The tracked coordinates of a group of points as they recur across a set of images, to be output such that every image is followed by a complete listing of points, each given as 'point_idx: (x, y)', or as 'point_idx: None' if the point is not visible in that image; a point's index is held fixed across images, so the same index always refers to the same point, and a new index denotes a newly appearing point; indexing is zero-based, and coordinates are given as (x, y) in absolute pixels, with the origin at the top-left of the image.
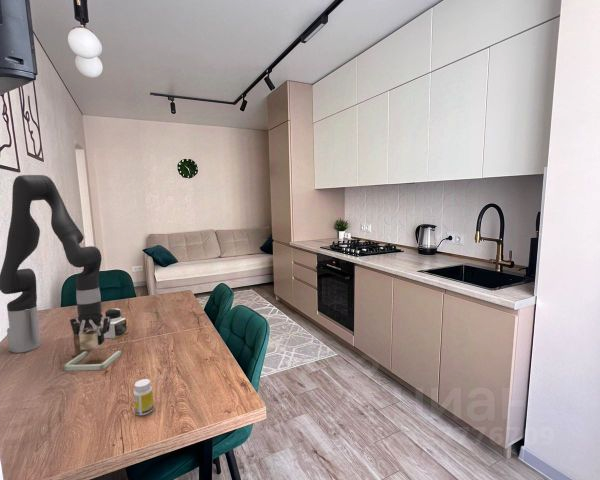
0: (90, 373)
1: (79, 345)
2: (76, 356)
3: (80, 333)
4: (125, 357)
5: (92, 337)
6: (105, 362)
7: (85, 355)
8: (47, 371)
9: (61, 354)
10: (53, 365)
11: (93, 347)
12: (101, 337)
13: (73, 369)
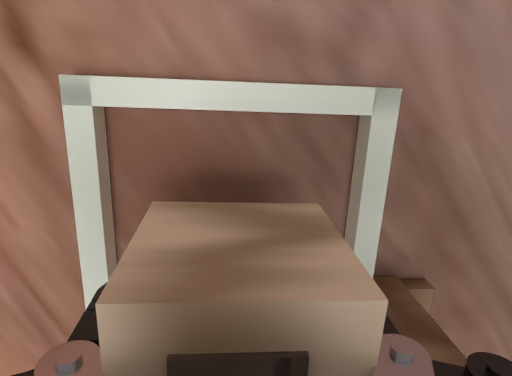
0: (140, 17)
1: None
2: (393, 280)
3: (404, 367)
4: (30, 263)
5: (150, 274)
6: (76, 135)
7: None
8: (489, 86)
9: (508, 322)
10: (489, 175)
11: (173, 209)
12: (78, 330)
13: (308, 84)
